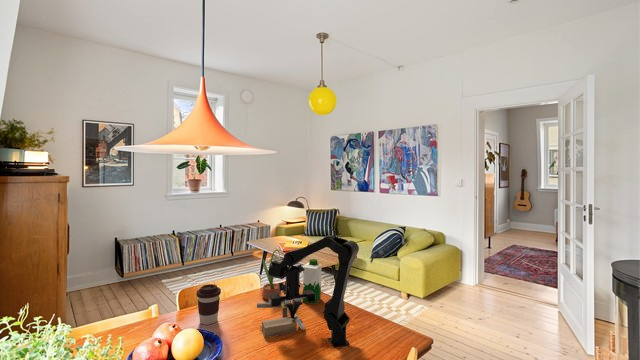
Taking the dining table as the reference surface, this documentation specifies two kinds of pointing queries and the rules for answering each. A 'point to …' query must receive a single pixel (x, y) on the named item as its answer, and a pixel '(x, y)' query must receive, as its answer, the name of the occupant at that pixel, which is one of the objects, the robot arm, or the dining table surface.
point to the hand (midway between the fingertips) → (292, 318)
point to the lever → (267, 305)
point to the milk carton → (312, 279)
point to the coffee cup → (208, 303)
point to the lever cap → (299, 322)
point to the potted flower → (270, 279)
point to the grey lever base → (279, 325)
